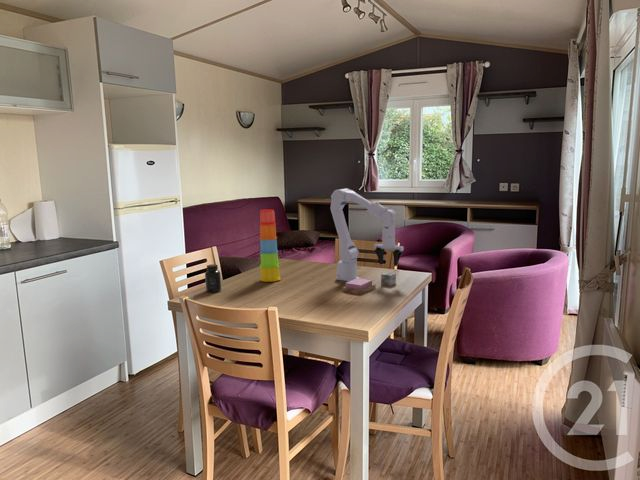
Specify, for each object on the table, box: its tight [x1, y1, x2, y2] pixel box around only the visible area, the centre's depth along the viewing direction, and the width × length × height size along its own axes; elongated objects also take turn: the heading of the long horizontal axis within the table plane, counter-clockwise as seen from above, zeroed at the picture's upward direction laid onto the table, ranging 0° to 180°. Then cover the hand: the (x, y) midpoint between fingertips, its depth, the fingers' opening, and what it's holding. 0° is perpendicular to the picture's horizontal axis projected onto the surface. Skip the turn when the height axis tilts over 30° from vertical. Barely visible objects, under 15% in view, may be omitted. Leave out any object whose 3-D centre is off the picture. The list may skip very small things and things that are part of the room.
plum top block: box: [344, 277, 373, 290], centre depth 218 cm, size 8×10×2 cm
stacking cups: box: [259, 209, 282, 283], centre depth 237 cm, size 10×10×35 cm
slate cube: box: [380, 271, 397, 287], centre depth 227 cm, size 5×5×5 cm
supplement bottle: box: [204, 263, 222, 294], centre depth 221 cm, size 7×7×12 cm
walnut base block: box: [341, 283, 376, 295], centre depth 219 cm, size 10×12×2 cm
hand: (388, 264), depth 226 cm, fingers open, 7 cm apart
